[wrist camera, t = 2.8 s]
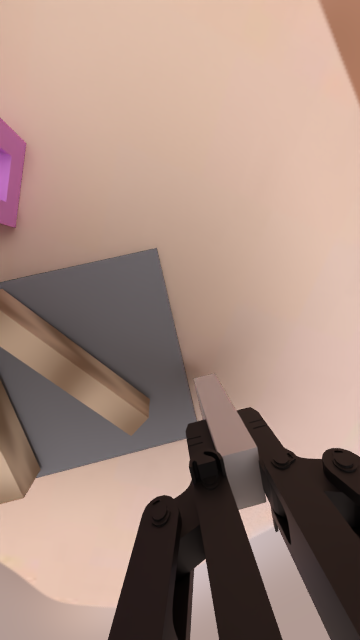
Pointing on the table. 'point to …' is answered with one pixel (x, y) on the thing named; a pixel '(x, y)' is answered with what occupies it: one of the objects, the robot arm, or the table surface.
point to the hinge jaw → (69, 366)
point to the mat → (101, 360)
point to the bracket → (10, 173)
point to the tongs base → (14, 454)
